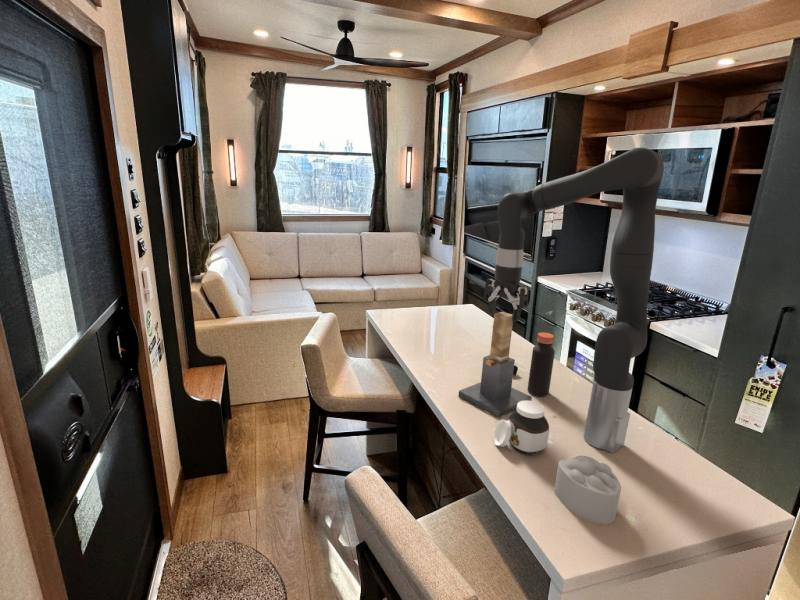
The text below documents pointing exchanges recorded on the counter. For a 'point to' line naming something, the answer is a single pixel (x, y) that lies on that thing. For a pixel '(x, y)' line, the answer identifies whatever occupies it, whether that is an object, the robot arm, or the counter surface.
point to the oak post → (501, 336)
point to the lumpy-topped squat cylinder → (588, 489)
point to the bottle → (541, 365)
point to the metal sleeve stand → (495, 389)
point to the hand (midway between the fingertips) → (503, 317)
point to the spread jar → (524, 428)
